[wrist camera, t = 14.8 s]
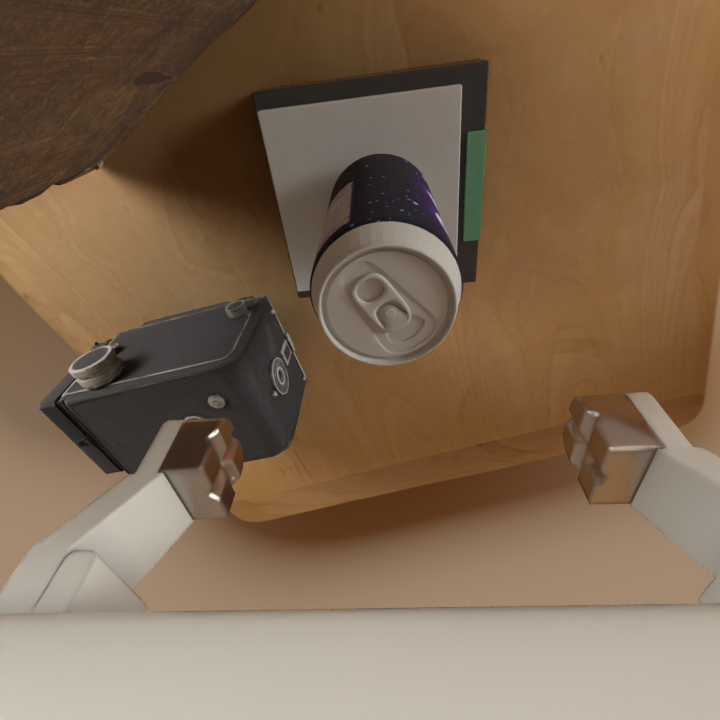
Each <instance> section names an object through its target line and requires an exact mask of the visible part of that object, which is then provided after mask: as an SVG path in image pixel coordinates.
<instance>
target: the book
mask: <svg viewBox="0 0 720 720" xmlns="http://www.w3.org/2000/svg"><path fill="white" fill-rule="evenodd" d="M256 1H257V0H0V210H2V209H4V208H6V207H8V206H13V205H19V204H22V203H24V202H26V201H28V200H30V199H32V198H34V197H37V196H39V195H40V194H42V193H43V192H44V191H45V190H47V189H48V188H49V187H50V186H52V185H53V184H54V185H62V184H65V183H67V182H70V181H72V180H74V179H76V178H78V177H80V176H82V175H85V174H87V173H89V172H91V171H92V170H94V169H96V170H98V169H99V168H101V167H102V165H103V162H104V160H105V159H106V158H107V157H108V156H109V155H110V154H111V153H112V152H113V151H114V150H115V149H116V148H117V147H118V146H119V145H120V144H121V143H122V142H123V141H124V140H125V139H126V137H127V136H128V135H129V134H130V133H131V132H132V131H133V130H134V129H135V128H136V127H137V125H138V123H139V122H140V120H141V119H142V118H143V117H144V116H145V115H146V114H147V113H148V112H149V110H150V109H151V108H152V107H153V106H154V104H155V103H156V102H157V101H158V100H159V98H160V97H161V96H162V95H163V94H164V92H165V91H166V90H167V89H168V88H169V86H170V85H171V84H172V83H173V82H174V81H175V80H176V79H177V78H178V77H179V76H180V75H181V74H182V73H183V72H184V71H185V70H186V69H187V68H188V67H189V66H190V65H191V64H192V63H193V61H194V60H195V59H196V58H197V57H198V56H199V55H200V54H201V53H202V52H203V51H204V50H205V49H206V48H207V47H208V46H209V45H210V44H211V43H212V42H213V41H214V40H215V39H216V38H217V37H218V36H220V35H221V34H222V33H223V32H224V31H225V30H226V29H228V28H230V27H231V26H232V25H233V24H234V23H235V22H236V21H237V20H238V19H239V18H241V17H242V16H243V15H244V14H245V13H246V12H247V11H248V10H249V9H250V8H251V7H252V5H253V4H254V3H255V2H256Z"/></svg>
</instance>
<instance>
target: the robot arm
mask: <svg viewBox="0 0 720 720" xmlns="http://www.w3.org/2000/svg"><path fill="white" fill-rule="evenodd" d="M569 410H570V412H571V414H572V416H573V417H572V418H571V419H570V420H568V421H567V422H566V423H565V427H564V432H563V439H564V447H565V451H566V454H567V456H568V459H569V461H570V463H571V464H573V465H574V466H576V467H577V468H578V469H580V473H579V476H578V480H579V483H580V485H581V487H582V489H583V491H584V493H585V495H586V498H587V499H588V502H589V504H631V505H630V506H631V507H632V508H633V509H635V510H636V511H637V512H638V513H639V514H641V515H642V516H643V517H644V518H645V519H646V520H647V521H649V522H650V523H651V524H652V525H653V526H655V527H656V528H657V529H658V530H659V531H661V532H662V533H663V534H664V535H665V536H666V537H667V538H669V539H670V540H671V541H672V542H673V543H674V544H676V545H677V546H678V547H679V548H680V549H681V550H683V551H684V552H685V553H686V554H687V555H688V556H690V557H691V558H692V559H693V560H694V561H695V562H697V563H698V564H699V565H700V566H701V567H703V568H704V569H705V570H706V571H707V572H708V573H709V574H711V575H712V576H713V577H714V579H713V580H712V581H711V583H710V584H709V585H708V586H707V587H706V589H705V590H704V591H703V592H702V593H701V595H700V597H699V599H698V600H699V602H700V604H643V605H569V606H503V607H502V606H501V607H500V606H497V607H428V608H427V607H425V608H358V609H298V610H297V609H292V610H224V611H223V610H222V611H163V612H162V611H160V612H159V611H156V612H147V609H148V607H147V605H146V603H145V602H144V601H143V600H142V599H141V597H140V596H138V594H136V592H135V591H133V589H134V588H135V587H136V586H137V585H138V583H140V581H141V580H142V579H143V578H144V577H145V576H146V575H147V574H148V573H149V571H150V570H151V569H152V568H153V567H154V566H155V565H156V564H157V562H158V561H159V560H160V559H161V558H162V557H163V556H164V555H165V553H166V552H167V551H168V550H169V549H170V548H171V547H172V545H173V544H174V543H175V542H176V541H177V540H178V539H179V538H180V537H181V535H182V534H183V533H184V532H185V531H186V530H187V529H188V528H189V526H190V525H191V524H192V523H193V520H196V519H212V518H227V517H228V514H229V511H230V508H231V505H232V502H233V498H234V495H235V492H234V490H233V488H232V485H233V484H234V483H235V482H236V481H237V480H238V479H239V478H240V476H241V472H242V469H243V458H244V455H243V450H242V446H241V444H240V441H239V440H238V439H236V438H235V437H233V436H232V433H233V430H234V427H233V425H232V423H231V421H230V419H227V418H210V419H187V420H168V421H167V422H165V423H164V424H163V425H162V426H161V428H160V430H159V432H158V433H157V435H156V437H155V439H154V441H153V442H152V444H151V446H150V448H149V449H148V451H147V453H146V455H145V457H144V458H143V460H142V462H141V464H140V465H139V467H138V469H137V471H136V473H135V474H129V475H127V476H126V477H125V478H123V479H122V480H121V481H119V482H118V483H117V484H115V485H114V486H113V487H111V488H110V489H109V490H107V491H106V492H105V493H103V494H102V495H101V496H100V497H98V498H97V499H96V500H94V501H93V502H91V503H90V504H89V505H87V506H86V507H85V508H84V509H82V510H81V511H80V512H78V513H77V514H76V515H74V516H73V517H72V518H70V519H69V520H68V521H66V522H65V523H64V524H62V525H61V526H60V527H58V528H57V529H56V530H54V531H53V532H52V533H51V534H49V535H48V536H46V537H45V538H44V539H43V540H41V541H40V542H39V543H37V544H36V545H35V546H33V547H32V548H31V549H29V550H28V552H27V553H26V555H25V556H24V558H23V559H22V560H21V562H20V564H19V565H18V567H17V568H16V569H15V571H14V572H13V574H12V575H11V576H10V578H9V580H8V581H7V582H6V584H5V585H4V587H3V588H2V590H1V591H0V720H720V457H718V456H716V455H714V454H713V453H711V452H709V451H707V450H705V449H703V448H701V447H693V446H692V445H691V444H690V443H689V441H688V440H687V439H686V438H685V436H684V435H683V434H682V433H681V431H680V430H679V429H678V427H677V426H676V425H675V424H674V422H673V421H672V420H671V419H670V417H669V416H668V415H667V414H666V412H665V411H664V410H663V409H662V407H661V406H660V405H659V403H658V402H657V401H656V400H655V398H654V397H653V396H652V395H651V394H649V393H647V392H636V393H622V394H609V395H594V396H580V397H574V399H573V400H572V401H571V404H570V408H569Z"/></svg>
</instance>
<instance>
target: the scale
mask: <svg viewBox="0 0 720 720" xmlns="http://www.w3.org/2000/svg"><path fill="white" fill-rule="evenodd" d="M488 76H489V61H487V60H481V59H474V60H467V61H459V62H452V63H445V64H437V65H430V66H423V67H415V68H408V69H401V70H393V71H386V72H379V73H371V74H364V75H357V76H350V77H342V78H335V79H328V80H320V81H313V82H306V83H298V84H291V85H284V86H276V87H269V88H262V89H260V90H258V91H255V92H253V93H252V97H253V101H254V106H255V110H256V114H257V119H258V123H259V127H260V132H261V136H262V140H263V145H264V149H265V153H266V158H267V162H268V167H269V171H270V175H271V180H272V184H273V188H274V193H275V197H276V201H277V206H278V210H279V214H280V219H281V223H282V227H283V232H284V236H285V240H286V245H287V249H288V253H289V258H290V262H291V266H292V271H293V275H294V279H295V284H296V288H297V292H298V297H299V298H303V297H310V278H311V273H312V269H313V265H314V261H315V257H316V253H317V249H318V245H319V241H320V237H321V233H322V229H323V225H324V221H325V217H326V213H327V209H328V205H329V201H330V198H331V194H332V190H333V187H334V185H335V183H336V181H337V179H338V178H339V176H340V175H341V173H342V172H343V171H344V170H345V169H346V168H347V167H348V166H349V165H350V164H352V163H353V162H355V161H356V160H358V159H360V158H362V157H365V156H368V155H372V154H392V155H396V156H399V157H402V158H404V159H406V160H407V161H409V162H410V163H412V164H413V165H414V166H415V167H417V168H418V170H419V171H420V172H421V173H422V175H423V176H424V178H425V179H426V181H427V183H428V186H429V188H430V191H431V193H432V196H433V198H434V201H435V203H436V206H437V208H438V211H439V213H440V216H441V218H442V221H443V223H444V226H445V228H446V231H447V233H448V236H449V238H450V241H451V243H452V246H453V248H454V251H455V253H456V256H457V258H458V261H459V263H460V266H461V270H462V276H463V283H465V282H475V281H476V270H477V254H478V240H480V227H481V212H482V196H483V180H484V165H485V149H486V133H487V131H486V130H485V124H486V108H487V92H488Z"/></svg>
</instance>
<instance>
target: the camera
mask: <svg viewBox="0 0 720 720" xmlns="http://www.w3.org/2000/svg"><path fill="white" fill-rule="evenodd" d="M94 343H95V346H94V347H93V348H92V349H91V350H90V351H89V352H87V353H85V354H84V355H82V356H80V357H79V358H78V359H77V360H75V361H74V362H73V363H72V364H71V366H70V368H69V371H68V372H69V373H68V374H67V375H66V376H65V377H64V378H63V379H62V380H61V381H60V383H59V384H58V385H57V386H56V387H55V388H54V389H53V390H52V391H51V392H50V393H49V394H48V395H47V396H46V397H45V398H44V399H43V400H42V402H41V403H40V404H39V409H40V410H41V411H42V412H43V413H44V414H45V415H46V416H47V417H48V418H49V419H50V420H51V421H52V422H54V423H55V425H57V426H58V427H59V428H60V429H61V430H62V431H63V432H64V433H65V434H66V435H67V436H68V437H69V438H70V439H71V440H72V441H73V442H74V443H75V444H76V445H77V446H78V447H79V448H80V449H81V450H82V451H83V452H84V453H85V454H86V455H87V456H88V457H89V458H90V459H92V460H93V461H94V462H95V463H96V464H97V465H98V466H99V467H100V468H101V469H102V470H103V471H104V472H105V473H106V474H109V473H114V472H120V471H124V470H125V471H126V472H127V473H128V474H135V473H136V471H137V469H138V467H139V465H140V464H141V462H142V460H143V458H144V457H145V455H146V453H147V451H148V449H149V448H150V446H151V444H152V442H153V441H154V439H155V437H156V435H157V433H158V432H159V430H160V428H161V426H162V425H163V424H164V423H165V422H167V421H168V420H187V419H210V418H227V419H230V421H231V423H232V425H233V427H234V430H233V433H232V436H233V437H235V438H236V439H238V440H239V441H240V444H241V446H242V450H243V455H244V458H243V462H247V461H252V460H258V459H263V458H268V457H273V456H276V455H277V454H279V453H281V452H283V451H284V450H286V449H287V448H288V447H289V445H290V444H291V442H292V440H293V437H294V433H295V429H296V425H297V421H298V416H299V411H300V406H301V401H302V397H303V393H304V389H305V385H306V380H307V379H306V375H305V373H304V371H303V369H302V367H301V365H300V363H299V361H298V359H297V357H296V355H295V353H294V352H295V348H294V345H293V343H292V341H291V338H290V336H289V334H288V332H284V330H283V328H282V326H281V323H280V321H279V319H278V317H277V315H276V313H275V311H274V309H273V306H272V304H271V302H270V300H269V299H268V298H267V296H261V297H256V298H254V297H253V296H250V297H245V298H241V299H238V300H236V301H234V302H232V303H230V302H224V303H220V304H216V305H212V306H208V307H204V308H200V309H196V310H192V311H188V312H184V313H180V314H176V315H172V316H168V317H164V318H160V319H157V320H153V321H150V322H146V323H144V324H143V325H142V326H141V327H140V328H135V329H131V330H127V331H124V332H120V333H118V334H117V335H116V336H115V337H114V338H113V339H110V340H107V341H106V342H104V343H100V344H98V343H97V342H94Z"/></svg>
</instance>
